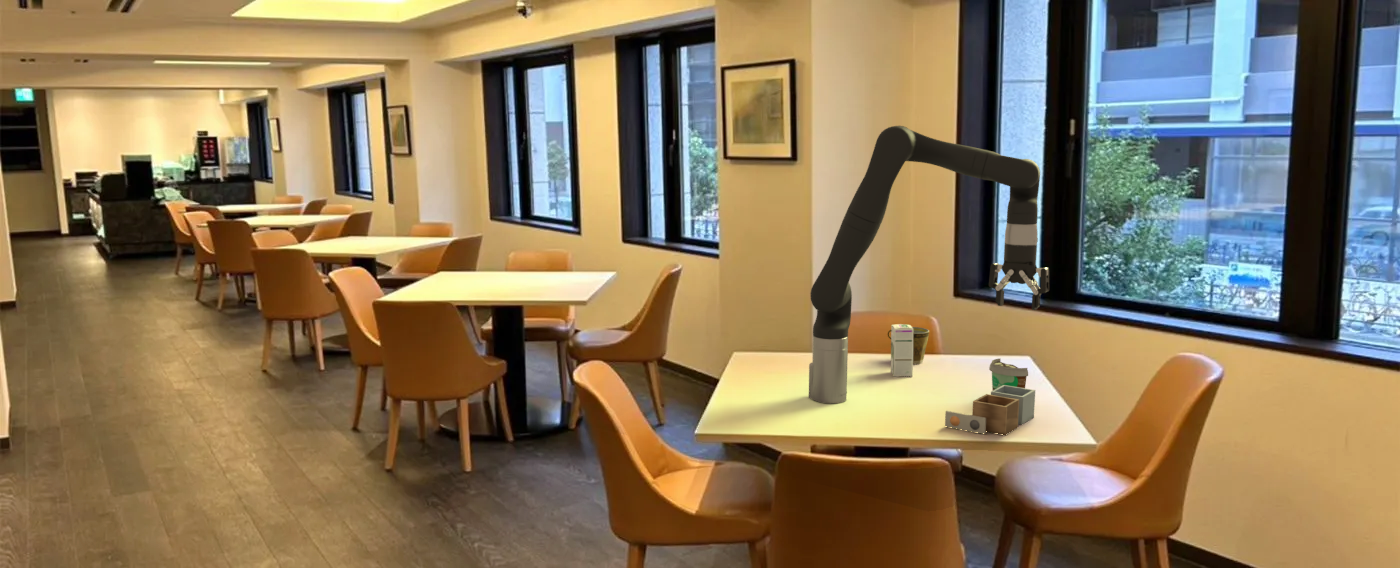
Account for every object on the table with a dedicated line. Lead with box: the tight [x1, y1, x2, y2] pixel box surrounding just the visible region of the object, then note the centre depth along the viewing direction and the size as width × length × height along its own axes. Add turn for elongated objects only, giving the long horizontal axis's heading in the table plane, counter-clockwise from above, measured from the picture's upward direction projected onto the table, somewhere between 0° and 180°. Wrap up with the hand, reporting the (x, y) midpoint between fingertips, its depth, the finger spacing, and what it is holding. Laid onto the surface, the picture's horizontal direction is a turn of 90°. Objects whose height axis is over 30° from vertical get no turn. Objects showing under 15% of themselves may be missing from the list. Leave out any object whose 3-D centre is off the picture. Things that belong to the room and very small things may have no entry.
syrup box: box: [890, 323, 914, 378], centre depth 296 cm, size 6×6×14 cm
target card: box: [944, 410, 987, 435], centre depth 243 cm, size 10×1×4 cm, turn 52°
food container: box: [988, 358, 1029, 391], centre depth 269 cm, size 12×6×10 cm, turn 21°
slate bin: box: [990, 385, 1036, 426], centre depth 253 cm, size 8×8×7 cm
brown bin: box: [971, 393, 1019, 436], centre depth 244 cm, size 8×8×7 cm
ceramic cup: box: [887, 326, 930, 365], centre depth 312 cm, size 13×10×10 cm
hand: (1017, 307), depth 249 cm, fingers open, 8 cm apart
